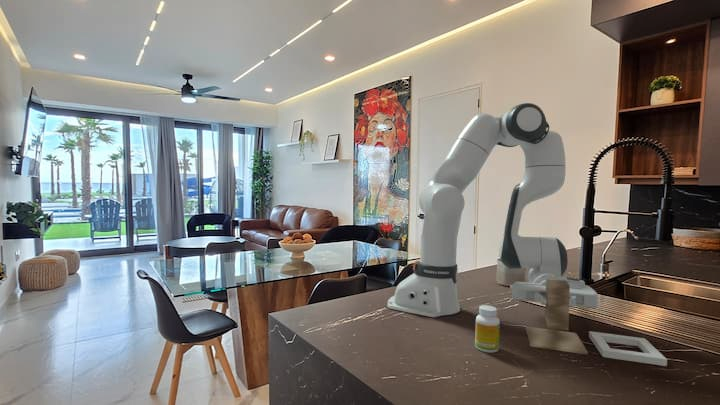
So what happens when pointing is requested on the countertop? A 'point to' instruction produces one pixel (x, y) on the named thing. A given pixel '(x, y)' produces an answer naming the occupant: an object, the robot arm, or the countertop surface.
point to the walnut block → (557, 304)
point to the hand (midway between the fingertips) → (557, 302)
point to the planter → (509, 274)
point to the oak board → (555, 340)
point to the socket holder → (648, 356)
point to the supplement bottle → (487, 329)
